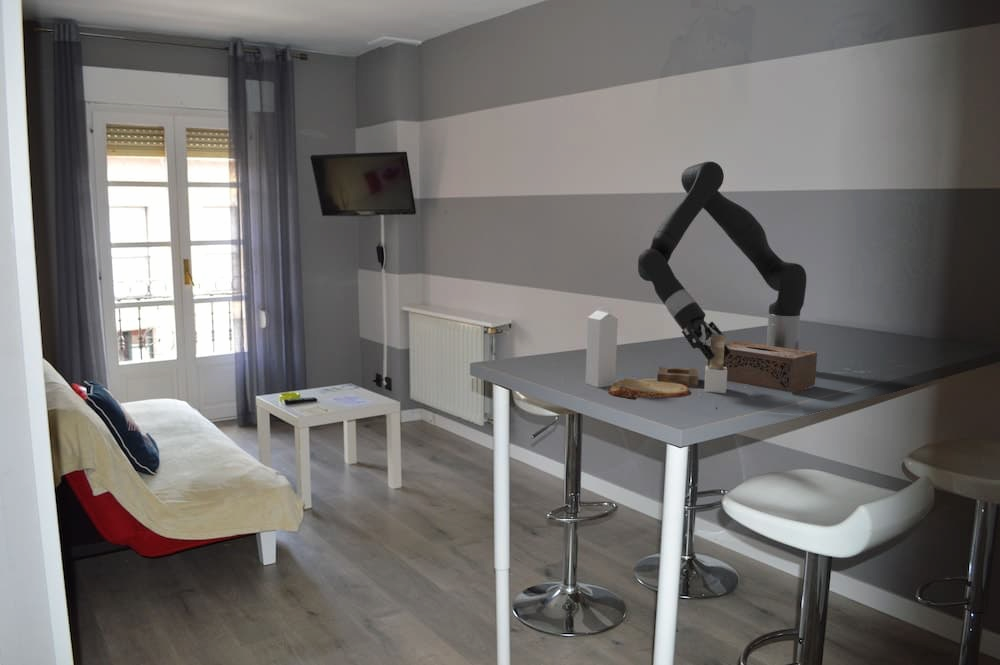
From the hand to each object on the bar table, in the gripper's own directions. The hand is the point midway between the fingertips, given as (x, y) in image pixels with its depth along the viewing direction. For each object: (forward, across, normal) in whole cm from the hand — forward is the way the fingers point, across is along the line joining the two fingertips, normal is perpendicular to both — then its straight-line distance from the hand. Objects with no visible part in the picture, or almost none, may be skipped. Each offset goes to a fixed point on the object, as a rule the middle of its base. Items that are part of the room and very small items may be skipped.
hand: (720, 356), depth 213 cm
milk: (-12, -16, +27) cm, 33 cm away
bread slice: (-1, -15, +16) cm, 22 cm away
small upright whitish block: (+6, 0, +8) cm, 10 cm away
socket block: (-3, +2, +17) cm, 17 cm away
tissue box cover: (+9, +21, +6) cm, 24 cm away
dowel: (+6, 0, +7) cm, 9 cm away
